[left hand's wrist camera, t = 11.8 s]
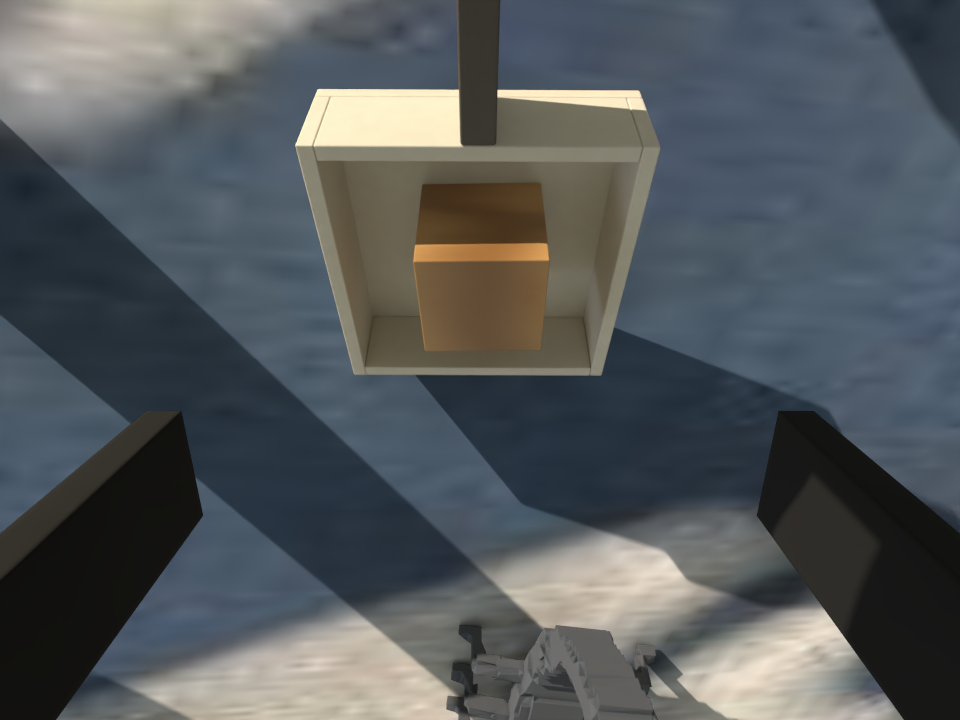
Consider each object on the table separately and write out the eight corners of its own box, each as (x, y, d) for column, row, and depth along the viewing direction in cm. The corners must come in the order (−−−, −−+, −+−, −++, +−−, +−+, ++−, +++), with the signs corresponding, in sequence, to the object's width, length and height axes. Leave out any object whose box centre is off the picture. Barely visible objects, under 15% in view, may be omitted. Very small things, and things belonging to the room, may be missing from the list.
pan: (364, 315, 31) (354, 375, 29) (202, -458, 13) (130, -491, 10) (591, 316, 31) (601, 376, 29) (755, -454, 13) (827, -488, 10)
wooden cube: (431, 274, 28) (424, 351, 25) (421, 183, 24) (412, 261, 21) (534, 273, 28) (541, 350, 25) (541, 182, 24) (550, 260, 21)
